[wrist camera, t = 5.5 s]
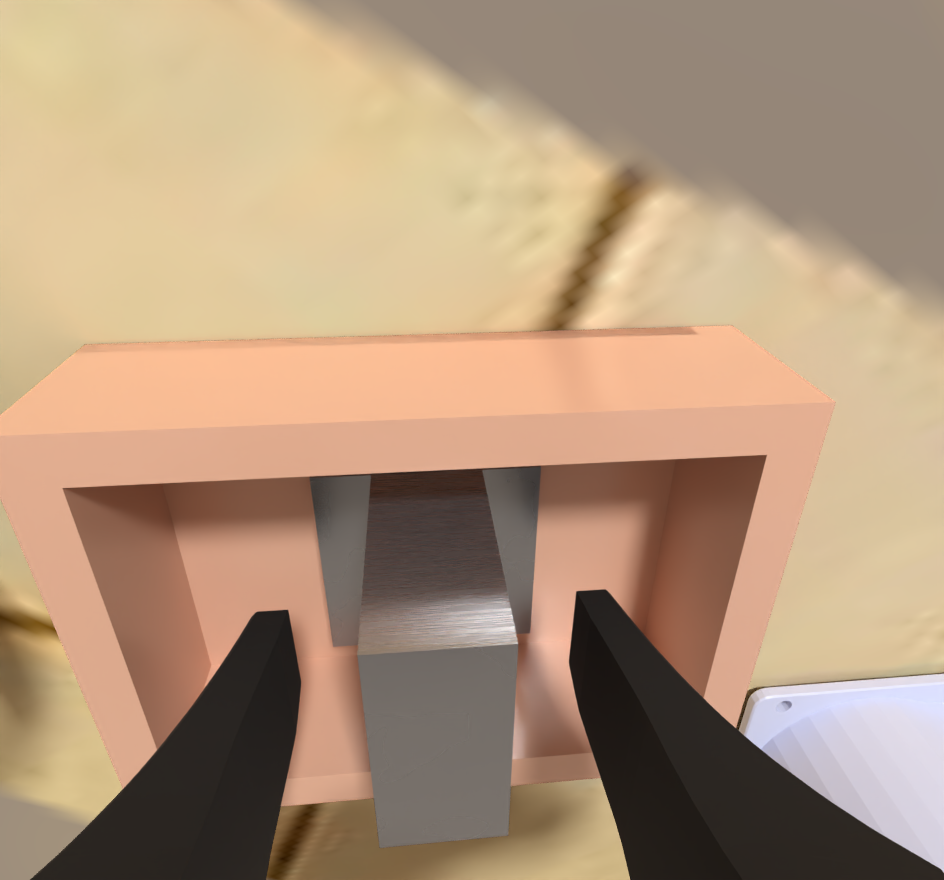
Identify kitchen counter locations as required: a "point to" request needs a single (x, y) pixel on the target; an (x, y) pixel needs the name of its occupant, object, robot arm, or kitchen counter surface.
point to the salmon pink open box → (403, 450)
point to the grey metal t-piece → (433, 635)
